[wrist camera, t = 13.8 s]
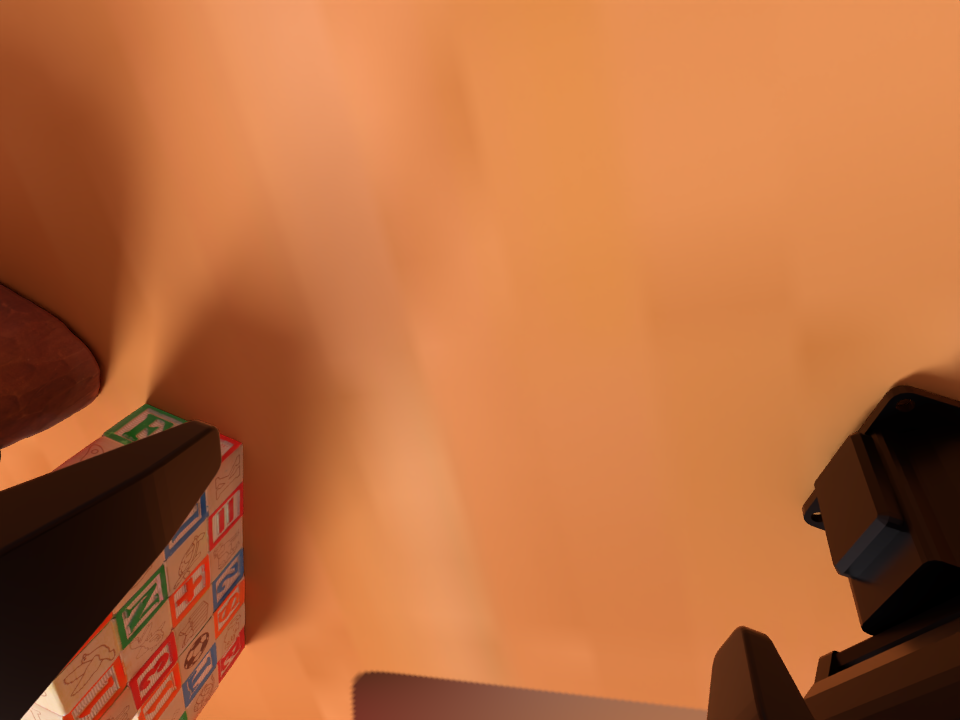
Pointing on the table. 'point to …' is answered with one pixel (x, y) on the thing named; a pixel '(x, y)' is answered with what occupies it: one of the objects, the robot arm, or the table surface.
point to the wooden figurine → (39, 370)
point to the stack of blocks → (164, 608)
